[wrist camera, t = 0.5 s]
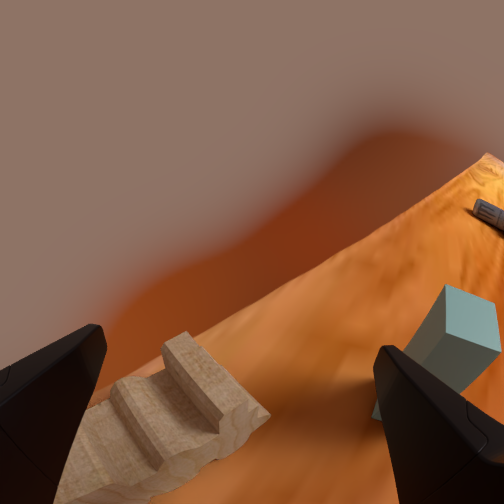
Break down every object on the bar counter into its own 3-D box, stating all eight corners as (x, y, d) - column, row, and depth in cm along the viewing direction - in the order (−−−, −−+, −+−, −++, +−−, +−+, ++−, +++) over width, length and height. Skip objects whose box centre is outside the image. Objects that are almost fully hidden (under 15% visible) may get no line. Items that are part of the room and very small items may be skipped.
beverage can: (508, 237, 51) (470, 216, 58) (518, 208, 48) (479, 188, 55) (510, 244, 45) (468, 221, 52) (522, 212, 42) (478, 189, 49)
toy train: (267, 427, 21) (283, 370, 15) (98, 527, 12) (22, 516, 6) (224, 383, 24) (219, 311, 18) (65, 472, 15) (-9, 430, 9)
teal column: (413, 430, 20) (501, 352, 12) (371, 417, 21) (445, 332, 14) (422, 390, 23) (494, 303, 15) (383, 377, 25) (445, 283, 17)
